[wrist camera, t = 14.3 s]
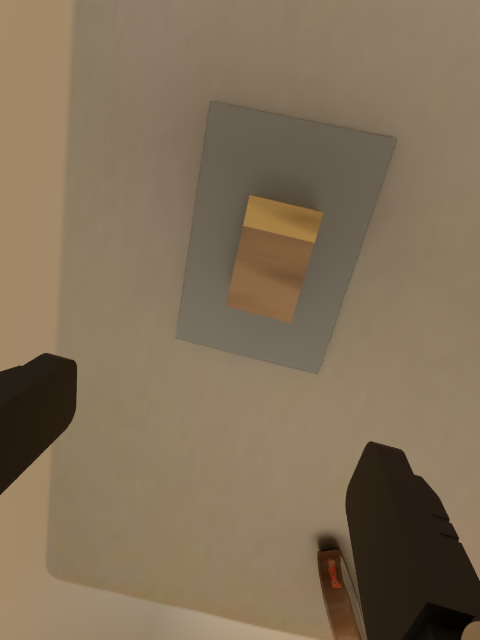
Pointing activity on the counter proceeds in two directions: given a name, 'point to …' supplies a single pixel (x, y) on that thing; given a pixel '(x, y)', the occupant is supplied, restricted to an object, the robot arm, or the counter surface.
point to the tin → (340, 597)
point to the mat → (290, 187)
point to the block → (272, 257)
